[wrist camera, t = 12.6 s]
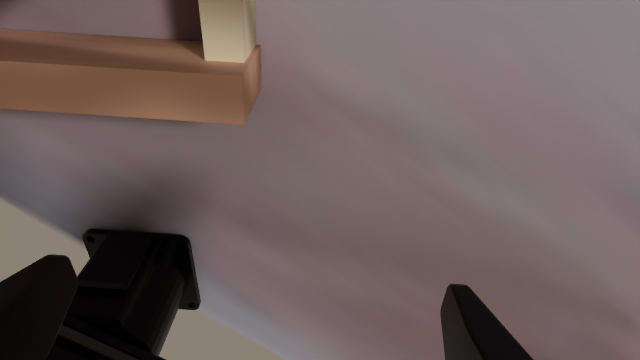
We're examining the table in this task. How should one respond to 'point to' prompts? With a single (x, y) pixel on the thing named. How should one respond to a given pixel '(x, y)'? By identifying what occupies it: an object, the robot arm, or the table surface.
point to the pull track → (139, 71)
